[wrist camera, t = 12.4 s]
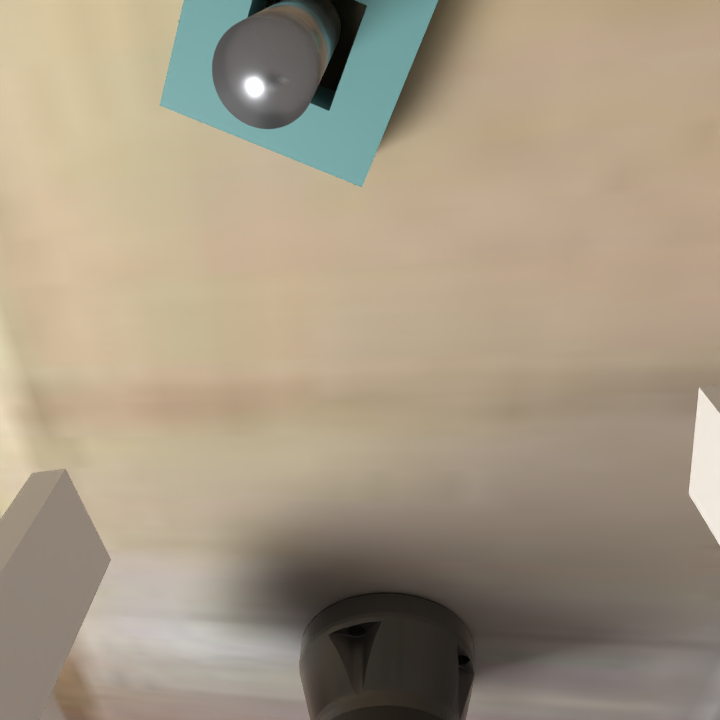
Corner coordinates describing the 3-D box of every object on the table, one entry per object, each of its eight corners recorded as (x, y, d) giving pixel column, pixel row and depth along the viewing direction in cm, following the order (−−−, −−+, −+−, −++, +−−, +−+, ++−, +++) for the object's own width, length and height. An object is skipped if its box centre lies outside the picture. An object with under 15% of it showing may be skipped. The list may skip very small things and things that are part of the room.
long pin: (327, 72, 34) (295, 144, 22) (268, 47, 34) (200, 105, 21) (350, 7, 33) (331, 44, 20) (288, -21, 32) (228, -2, 19)
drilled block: (364, 159, 37) (361, 187, 32) (186, 86, 35) (159, 105, 31) (442, -38, 32) (452, -36, 27) (240, -134, 30) (218, -149, 26)
